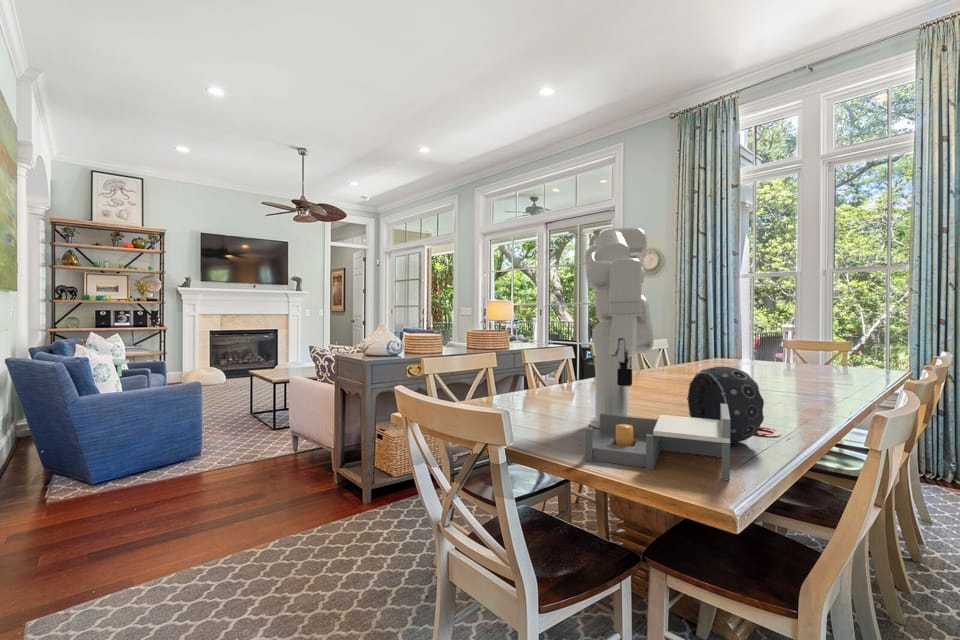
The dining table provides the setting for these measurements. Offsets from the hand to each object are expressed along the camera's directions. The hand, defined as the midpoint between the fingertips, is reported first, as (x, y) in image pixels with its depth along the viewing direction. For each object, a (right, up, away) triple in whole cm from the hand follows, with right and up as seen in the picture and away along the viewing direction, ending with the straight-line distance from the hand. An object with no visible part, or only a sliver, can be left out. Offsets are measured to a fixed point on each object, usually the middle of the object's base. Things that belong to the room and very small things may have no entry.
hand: (624, 385), depth 114 cm
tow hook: (+45, -17, +20) cm, 52 cm away
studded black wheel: (+30, -17, +12) cm, 36 cm away
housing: (+7, -17, -3) cm, 19 cm away
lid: (+13, -9, -6) cm, 18 cm away
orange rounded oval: (0, -17, +1) cm, 17 cm away
